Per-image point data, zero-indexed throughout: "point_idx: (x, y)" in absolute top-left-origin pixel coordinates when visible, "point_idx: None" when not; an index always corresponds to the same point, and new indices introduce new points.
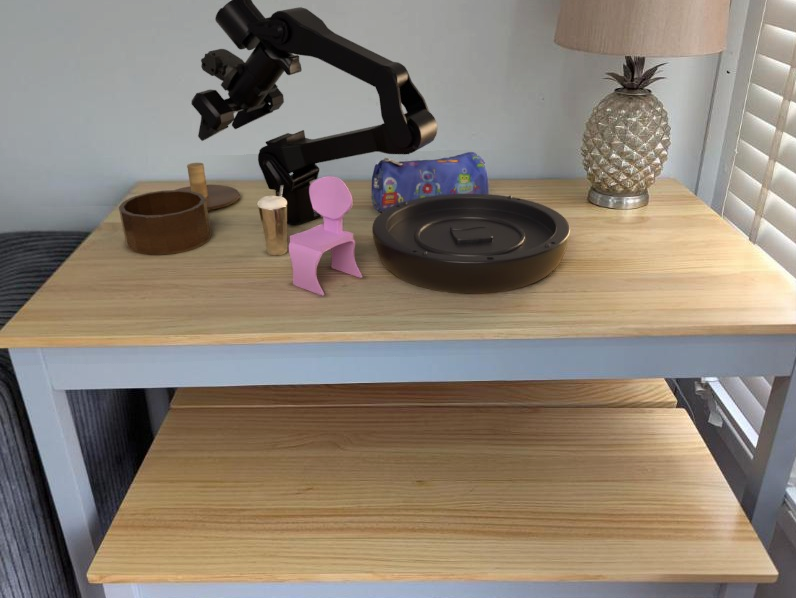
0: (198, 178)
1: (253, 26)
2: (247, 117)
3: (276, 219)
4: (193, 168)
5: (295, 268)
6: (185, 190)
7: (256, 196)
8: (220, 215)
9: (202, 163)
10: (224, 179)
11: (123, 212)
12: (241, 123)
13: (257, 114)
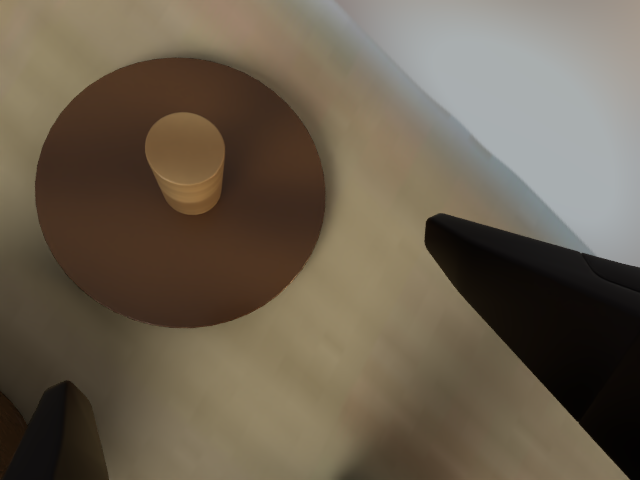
0: (177, 197)
1: None
2: (539, 349)
3: None
4: (159, 176)
5: None
6: (185, 92)
7: (359, 268)
8: (171, 370)
9: (222, 154)
10: (364, 46)
11: None
12: (475, 299)
13: (614, 443)
